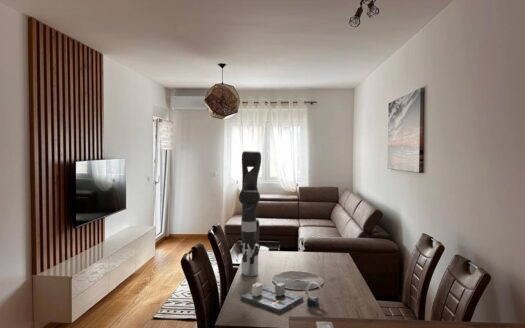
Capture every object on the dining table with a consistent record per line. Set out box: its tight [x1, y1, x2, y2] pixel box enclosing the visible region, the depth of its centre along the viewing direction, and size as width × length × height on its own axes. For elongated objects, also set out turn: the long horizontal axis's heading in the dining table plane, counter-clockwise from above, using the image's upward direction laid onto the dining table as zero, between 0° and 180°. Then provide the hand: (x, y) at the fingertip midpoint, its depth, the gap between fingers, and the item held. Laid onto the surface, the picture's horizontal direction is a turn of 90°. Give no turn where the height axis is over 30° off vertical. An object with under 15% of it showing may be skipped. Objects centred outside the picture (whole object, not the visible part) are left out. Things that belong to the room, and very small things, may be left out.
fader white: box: [251, 282, 263, 297], centre depth 186 cm, size 3×4×5 cm
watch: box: [304, 280, 322, 308], centre depth 181 cm, size 6×8×11 cm
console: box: [240, 284, 304, 315], centre depth 185 cm, size 24×20×2 cm
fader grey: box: [274, 282, 286, 296], centre depth 187 cm, size 3×4×5 cm
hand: (248, 262), depth 190 cm, fingers open, 4 cm apart
